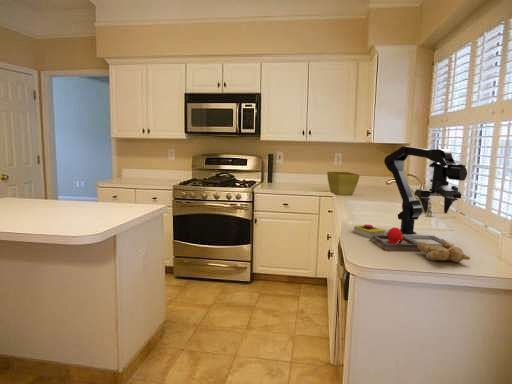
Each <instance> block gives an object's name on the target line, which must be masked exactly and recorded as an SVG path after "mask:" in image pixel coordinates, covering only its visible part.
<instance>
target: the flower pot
mask: <svg viewBox="0 0 512 384" xmlns="http://www.w3.org/2000/svg"><path fill="white" fill-rule="evenodd" d="M326 174H327V182H328V183H327V184H328V187H329V190H330V193H331V194H334V195H338V196H352V195H354V193H355V190H356V188H357V185H358V182H359V180H360V176H361V175H360V174H357V173H353V172H348V171H327V173H326Z"/></svg>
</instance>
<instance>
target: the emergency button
mask: <svg viewBox="0 0 512 384" xmlns="http://www.w3.org/2000/svg"><path fill="white" fill-rule="evenodd" d="M351 232H353V233H355V234H358V235H361V236H364V237H366V238H370V237H373V235H386V234H385V232H386V231H385V229H382V228H379V227H376V226H373V225H372V224H364V225H354V228H353V230H351Z"/></svg>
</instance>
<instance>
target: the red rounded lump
mask: <svg viewBox="0 0 512 384" xmlns="http://www.w3.org/2000/svg"><path fill="white" fill-rule="evenodd" d="M386 235H388V237H389V242H390V244H396V243H397V242H398V241H399V239H400V241H399V243H401V242H402V241H403V237H402V236H403V233H402V232H401V231H400V228H398V227H392V228H390V229H389V230H388V231H387V233H386Z"/></svg>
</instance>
